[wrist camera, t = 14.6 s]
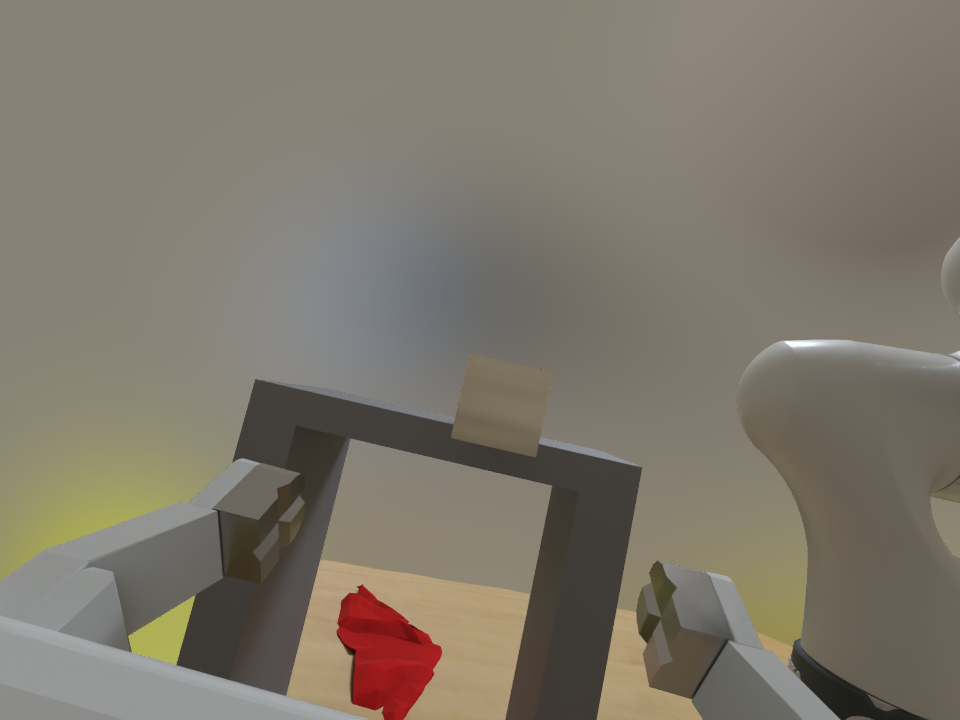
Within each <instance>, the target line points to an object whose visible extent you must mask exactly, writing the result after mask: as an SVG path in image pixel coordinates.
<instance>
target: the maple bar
mask: <svg viewBox="0 0 960 720" xmlns="http://www.w3.org/2000/svg"><path fill="white" fill-rule="evenodd" d="M552 377H553V372H551V371H547V370H542V369H537V368H533V367H528V366H523V365H519V364H514V363H510V362H505V361H500V360H496V359H491V358H486V357H482V356H477V355H472V354H470V355H469V360H468V364H467V368H466V373H465V377H464V382H463V386H462V390H461V395H460V399H459V403H458V408H457V413H456V417H455V421H454V426H453V430H452V434H451V438H453V439H458V440H462V441H467V442H471V443H475V444H480V445H484V446H488V447H493V448H497V449H501V450H506V451H510V452H514V453H519V454H523V455H527V456H532V457H536V455H537V450H538V445H539V440H540V435H541V430H542V426H543V421H544V416H545V410H546V406H547V401H548V396H549V392H550V387H551V382H552Z"/></svg>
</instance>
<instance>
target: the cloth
mask: <svg viewBox="0 0 960 720" xmlns="http://www.w3.org/2000/svg"><path fill="white" fill-rule="evenodd" d="M357 588H359V589H360V591H359V593H358V594H357V593H349V594H348V595H347V596H346V597H345V598H344V599H343V600H342V601H341V610H340V614H339V619H338V623H337V624H338V625H339V629H338V630H337V634H338V636H339V638H340V639H341V641H342V642H343V644H344V645H345V646H347V647H349V648H350V649H352V650H354V651H356V653H355V671H354V688H353V704H355V705H358V706H362V707H365V708H369V709H372V710H377V709H379V708H381V707H383V706H384V708H383V711H382V714H383V716H384V720H403V719H404V718H405V717H406V715H407V713H408V711H409V710H410V709H411V707H412V706H413V705H414V704H415V702H416V701H417V699H418V698H419V697H420V695H421V694H422V693H423V690H424V688H425V686H426V685H427V684H428V683H429V681H430V680H431V679H432V677H433V675H434V672H433V669H434V667H435V666H436V664H437V663H438V661H439V660H440V658H441V654H442V650H441V646H438V645H436V644H433V643H432V641H431V639H430V637H429V635H428V634H426V633H425V632H423V631H421V630H419V629H417V628H416V627H414V626H413V625H411V624H408V623H409V621H408V620H406V619H405V618H404V617H403V616H402V615H401V614H399V613H398V612H397V611H395V610H394V609H392V608H391V607H389V606H387V605H386V604H384V603H382V602H380V601H378V600H377V599H376V597H375V596H374V595H373V594H372V593H371V592H370V591H368V590H367V589H366V588H365V587H364V586H363V585H361V586H358V587H357Z"/></svg>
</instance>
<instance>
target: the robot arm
mask: <svg viewBox="0 0 960 720" xmlns="http://www.w3.org/2000/svg"><path fill="white" fill-rule="evenodd" d="M941 283H942V290H943V294H944V296H945V298H946V300H947V302H948V304H949V305H950V307H951V308H952V309H953V310H954V312H955V313H956V314H957V315H958V316H959V317H960V237H959V239H958V240H957V241H956V242H955V244H954V245H953V246H952V247H951V249H950V250H949V251H948V253H947V254H946V256H945V259H944V263H943V267H942V275H941ZM736 403H737V412H738V417H739V420H740V423H741V425H742V428H743V430H744V432H745V433H746V435H747V437H748V438H749V440H750V441H751V442H752V444H753V445H754V446H755V447H756V448H757V449H758V450H759V451H760V452H761V453H762V454H763V455H765V457H767V459H768V460H769V461H770V462H771V463H772V464H773V465H774V467H775V468H776V469H777V470H778V472H779V473H780V475H781V476H782V478H783V479H784V481H785V482H786V484H787V486H788V487H789V489H790V491H791V493H792V495H793V497H794V499H795V501H796V503H797V506H798V509H799V512H800V514H801V517H802V521H803V525H804V528H805V534H806V539H807V547H808V568H807V586H806V600H805V610H804V619H803V626H802V633H801V638H800V639H798V640H795V641H794V645H793V650H792V653H791V656H790V657H789V663H788V667H789V668H788V667H787V666H786V665H785V664H784V663H783V662H782V661H781V660H780V659H779V658H778V657H777V656H776V655H775V654H774V653H773V652H772V651H768V650H764V648H763V646H762V644H761V642H760V639H759V637H758V635H757V633H756V631H755V629H754V626H753V624H752V622H751V620H750V618H749V615H748V613H747V611H746V609H745V607H744V605H743V602H742V600H741V598H740V596H739V594H738V592H737V589H736V587H735V585H734V583H733V581H732V580H731V579H730V578H729V577H727V576H723V575H719V574H714V573H709V572H705V571H704V572H703V571H700V570H696V569H692V568H687V567H683V566H679V565H674V564H670V563H666V562H662V561H656V563H654V564H653V566H652V568H651V570H650V572H649V574H650V578H651V583H650V584H648V585H646V586H644V587H643V588H642V590H641V593H640V595H639V598H638V604H637V611H636V612H637V625H638V631H639V634H640V635H641V637H642V638H643V639H644V640H645V642H646V643H647V646H646V648H645V651H644V653H643V657H644V662H645V667H646V672H647V677H648V682H649V687H652V688H655V689H659V690H662V691H665V692H669V693H672V694H676V695H679V696H682V697H686V698H689V699H693V700H692V701H691V702H692V703H693V705H694V706H695V708H696V709H697V711H698V712H699V714H700V715H701V717H702V718H703V720H960V559H959V558H958V557H956V556H955V555H953V554H952V553H951V552H950V550H949V549H948V548H947V546H946V545H945V543H944V542H943V540H942V538H941V537H940V534H939V532H938V530H937V528H936V525H935V522H934V519H933V516H932V511H931V503H930V497H935V498H939V499H943V500H948V501H953V502H957V503H960V351H958V352H955V353H953V354H949V355H947V354H933V353H927V352H921V351H914V350H908V349H901V348H894V347H888V346H882V345H875V344H869V343H863V342H856V341H849V340H797V341H796V340H794V341H780V342H777V343H775V344H773V345H771V346H770V347H768V348H766V349H765V350H764V351H762V352H761V353H760V354H759V355H758V356H757V357H756V358H755V359H754V360H753V361H752V362H751V363H750V364H749V366H748V367H747V368H746V370H745V372H744V374H743V376H742V378H741V380H740V383H739V386H738V391H737V399H736ZM304 489H305V476H304V475H302V474H301V473H297V472H293V471H290V470H286V469H282V468H279V467H275V466H271V465H267V464H264V463H262V464H261V463H258V462H254V461H251V460H247V459H244V458H241V459H238V460H236V461H234V462H233V463H232V464H231V465H230V466H229V467H228V468H226V469H225V470H224V471H223V472H222V473H221V474H220V475H218V476H217V477H216V478H215V479H214V480H213V481H212V482H211V483H210V484H208V485H207V486H206V487H205V488H204V489H203V490H202V491H201V492H199V493H198V494H197V495H196V496H195V497H194V498H193V499H192V500H190V501H189V502H188V503H184V502H178V503H176V504H173V505H170V506H167V507H164V508H162V509H159V510H156V511H153V512H150V513H147V514H145V515H142V516H139V517H136V518H133V519H131V520H128V521H125V522H122V523H119V524H116V525H114V526H111V527H108V528H105V529H102V530H99V531H97V532H94V533H91V534H88V535H86V536H83V537H80V538H77V539H74V540H71V541H68V542H66V543H63V544H60V545H57V546H54V547H51V548H49V549H46V550H43V551H41V552H40V553H39V554H37V555H36V556H35V557H33V558H32V559H30V560H29V561H28V562H26V563H25V564H24V565H22V566H21V567H19V568H18V569H17V570H15V571H14V572H13V573H11V574H10V575H9V576H7V577H6V578H5V579H3V580H2V581H0V720H369V719H366V718H362V717H359V716H355V715H352V714H348V713H344V712H341V711H337V710H334V709H330V708H327V707H323V706H320V705H316V704H312V703H309V702H305V701H302V700H298V699H295V698H291V697H288V696H284V695H280V694H277V693H273V692H270V691H266V690H263V689H259V688H256V687H252V686H249V685H245V684H241V683H238V682H234V681H231V680H227V679H224V678H220V677H217V676H213V675H209V674H206V673H202V672H199V671H195V670H192V669H188V668H185V667H181V666H178V665H174V664H170V663H166V662H163V661H159V660H156V659H153V658H149V657H146V656H142V655H138V654H135V653H132V651H131V647H130V643H129V638H128V636H129V635H130V634H132V633H133V632H135V631H137V630H138V629H140V628H142V627H143V626H145V625H146V624H148V623H150V622H152V621H153V620H155V619H156V618H158V617H160V616H161V615H163V614H165V613H166V612H168V611H170V610H171V609H173V608H174V607H176V606H178V605H179V604H181V603H182V602H184V601H186V600H188V599H189V598H191V597H192V596H194V595H196V594H197V593H199V592H201V591H202V590H204V589H206V588H207V587H209V586H211V585H212V584H214V583H215V582H217V581H219V580H220V579H222V578H223V576H228V577H232V578H236V579H241V580H245V581H249V582H254V583H258V584H262V582H263V581H264V580H265V578H266V577H267V576H268V574H269V573H270V571H271V570H272V569H273V567H274V566H275V564H276V563H277V562H278V560H279V549H281V548H283V547H285V546H287V545H289V544H290V543H291V542H292V540H293V539H294V538H295V536H296V535H297V533H298V531H299V528H300V526H301V524H302V521H303V517H304V512H305V502H304V501H303V499H302V498H301V496H300V494H301V493H302V491H303V490H304Z"/></svg>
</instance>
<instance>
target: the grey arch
mask: <svg viewBox="0 0 960 720" xmlns="http://www.w3.org/2000/svg"><path fill="white" fill-rule="evenodd" d="M454 421H455V418H453V417H449V416H445V415H439V414H435V413H431V412H427V411H423V410H418V409H414V408H409V407H405V406H400V405H396V404H392V403H387V402H383V401H378V400H374V399H370V398H365V397H361V396H356V395H352V394H348V393H343V392H339V391H334V390H330V389H325V388H319V387H311V386H303V385H296V384H288V383H280V382H273V381H265V380H257V379H256V380H255V383H254V386H253V390H252V394H251V398H250V401H249V404H248V408H247V412H246V415H245V419H244V422H243V426H242V430H241V433H240V437H239V441H238V444H237V448H236V451H235V455H234V459H233V462H234V461H236V460H238V459H241V458H244V459H247V460H251V461H254V462H258V463H261V464H262V463H264V464H267V465H271V466H275V467H279V468H282V469H286V470H290V471H293V472H297V473H301V474H302V475H304V476H305V489H304V490H303V491H302V493H301V494H300V496H301V498H302V499H303V501H304V502H305V512H304V517H303V521H302V524H301V526H300V528H299V531H298V533H297V535H296V536H295V538H294V539H293V540H292V542H291V543H290V544H289V545H287V546H285V547H283V548H281V549H279V560H278V562H277V563H276V564H275V566H274V567H273V569H272V570H271V571H270V573H269V574H268V576H267V577H266V578H265V580H264V581H263V582H262V584H258V583H254V582H249V581H245V580H241V579H236V578H232V577H228V576H223V578H222V579H220V580H219V581H217V582H215V583H214V584H212V585H211V586H209V587H207V588H206V589H204V590H202V591H201V592H199V593H197V594H196V596H195V600H194V603H193V607H192V611H191V615H190V618H189V622H188V625H187V629H186V632H185V636H184V640H183V643H182V647H181V651H180V654H179V658H178V661H177V665H178V666H181V667H185V668H188V669H192V670H195V671H199V672H202V673H206V674H209V675H213V676H217V677H220V678H224V679H227V680H231V681H234V682H238V683H241V684H245V685H249V686H252V687H256V688H259V689H263V690H266V691H270V692H273V693H277V694H280V695H284V696H286V694H287V690H288V686H289V682H290V678H291V674H292V670H293V666H294V662H295V658H296V654H297V650H298V646H299V642H300V638H301V634H302V630H303V626H304V622H305V618H306V614H307V610H308V606H309V602H310V598H311V594H312V590H313V586H314V582H315V578H316V574H317V570H318V566H319V562H320V558H321V554H322V550H323V546H324V542H325V538H326V534H327V530H328V526H329V522H330V517H331V514H332V510H333V506H334V502H335V498H336V494H337V490H338V485H339V482H340V478H341V474H342V470H343V466H344V462H345V458H346V454H347V450H348V446H349V442H350V438H351V439H356V440H360V441H364V442H369V443H373V444H377V445H381V446H385V447H390V448H394V449H398V450H403V451H407V452H411V453H416V454H420V455H424V456H428V457H433V458H437V459H441V460H445V461H450V462H454V463H459V464H462V465H467V466H471V467H475V468H480V469H484V470H488V471H492V472H497V473H501V474H505V475H509V476H514V477H518V478H522V479H526V480H531V481H535V482H540V483H544V484H548V485H552V490H551V496H550V500H549V505H548V510H547V515H546V520H545V525H544V530H543V536H542V540H541V545H540V551H539V555H538V560H537V565H536V570H535V575H534V580H533V585H532V590H531V595H530V600H529V605H528V610H527V615H526V620H525V625H524V630H523V635H522V640H521V645H520V650H519V655H518V660H517V665H516V670H515V675H514V680H513V685H512V690H511V695H510V700H509V705H508V710H507V715H506V720H596V719H597V714H598V708H599V703H600V697H601V692H602V686H603V681H604V675H605V670H606V664H607V659H608V653H609V648H610V642H611V636H612V631H613V625H614V620H615V614H616V609H617V603H618V597H619V592H620V587H621V581H622V575H623V570H624V565H625V559H626V554H627V548H628V542H629V537H630V531H631V526H632V520H633V515H634V509H635V504H636V498H637V493H638V487H639V482H640V476H641V471H642V467H640V466H637V465H635V464H632V463H630V462H627V461H625V460H622V459H619V458H617V457H615V456H612V455H610V454H607V453H604V452H602V451H599V450H594V449H590V448H586V447H581V446H577V445H572V444H568V443H564V442H559V441H555V440H550V439H546V438H542V437H540V440H539V445H538V450H537V455H536V457H532V456H527V455H523V454H519V453H514V452H510V451H506V450H501V449H497V448H493V447H488V446H484V445H480V444H475V443H471V442H467V441H462V440H458V439H453V438H451V434H452V430H453V426H454ZM233 462H232V463H233Z"/></svg>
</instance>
